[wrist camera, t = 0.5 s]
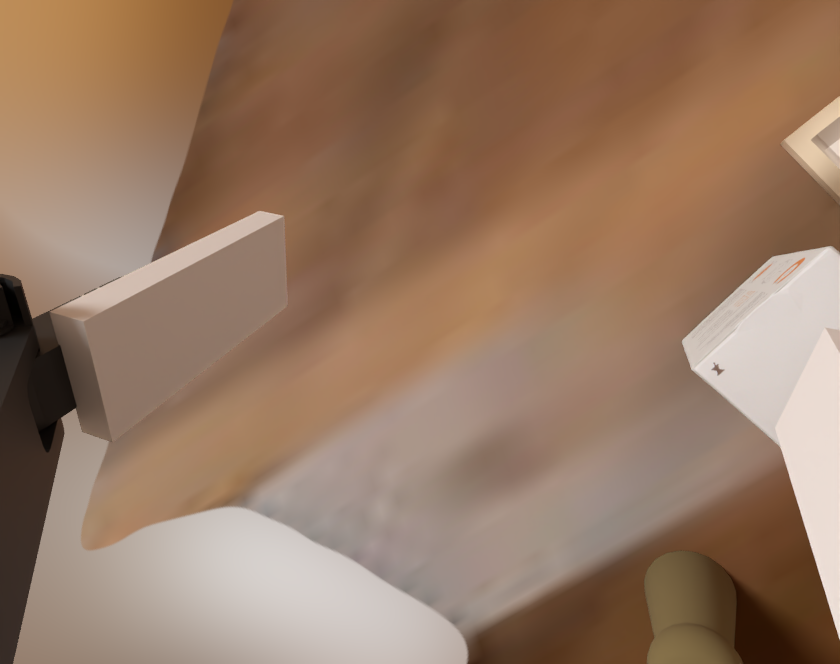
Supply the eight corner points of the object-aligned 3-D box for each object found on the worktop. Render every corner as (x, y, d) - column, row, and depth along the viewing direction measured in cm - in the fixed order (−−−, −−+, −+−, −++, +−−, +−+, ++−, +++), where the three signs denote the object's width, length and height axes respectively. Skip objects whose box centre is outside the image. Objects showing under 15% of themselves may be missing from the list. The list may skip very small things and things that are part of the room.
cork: (629, 601, 43) (619, 701, 33) (666, 534, 41) (667, 617, 31) (712, 649, 41) (728, 771, 31) (753, 581, 39) (784, 685, 29)
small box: (753, 407, 39) (794, 465, 27) (679, 341, 40) (686, 368, 28) (858, 320, 36) (956, 341, 24) (774, 252, 37) (827, 241, 25)
